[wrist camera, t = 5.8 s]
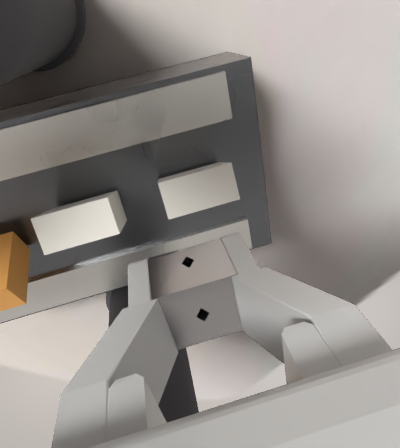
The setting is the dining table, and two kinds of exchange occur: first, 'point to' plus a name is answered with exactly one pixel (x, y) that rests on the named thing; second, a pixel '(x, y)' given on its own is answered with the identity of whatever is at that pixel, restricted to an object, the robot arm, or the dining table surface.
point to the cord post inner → (38, 35)
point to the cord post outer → (180, 374)
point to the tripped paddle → (13, 271)
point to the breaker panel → (130, 170)
